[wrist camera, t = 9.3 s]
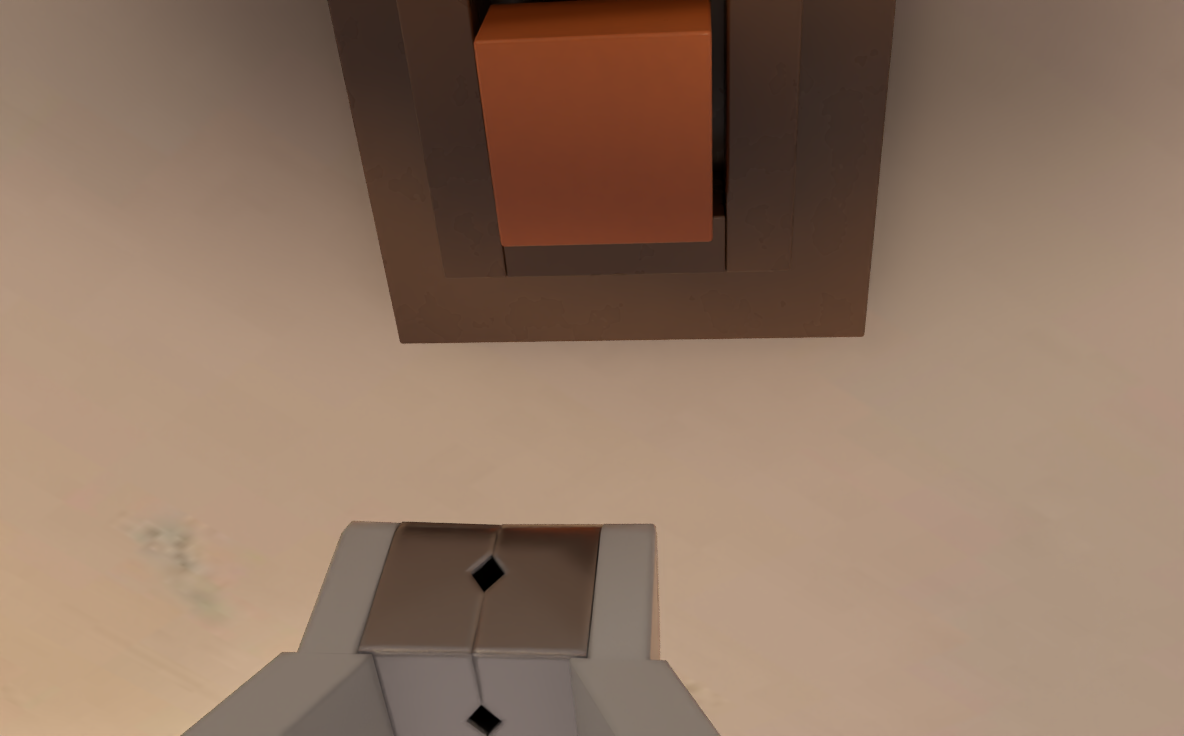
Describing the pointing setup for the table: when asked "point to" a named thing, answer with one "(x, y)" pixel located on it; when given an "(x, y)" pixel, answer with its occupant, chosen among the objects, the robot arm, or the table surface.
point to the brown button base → (640, 270)
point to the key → (599, 120)
